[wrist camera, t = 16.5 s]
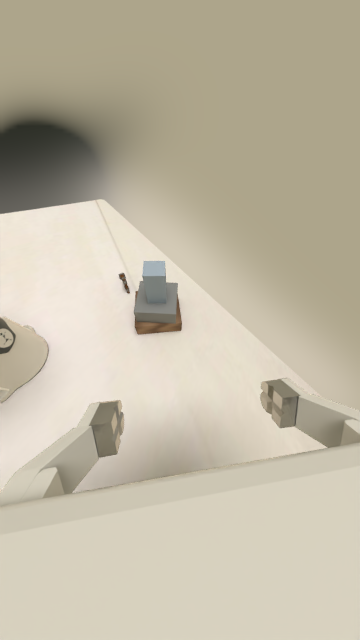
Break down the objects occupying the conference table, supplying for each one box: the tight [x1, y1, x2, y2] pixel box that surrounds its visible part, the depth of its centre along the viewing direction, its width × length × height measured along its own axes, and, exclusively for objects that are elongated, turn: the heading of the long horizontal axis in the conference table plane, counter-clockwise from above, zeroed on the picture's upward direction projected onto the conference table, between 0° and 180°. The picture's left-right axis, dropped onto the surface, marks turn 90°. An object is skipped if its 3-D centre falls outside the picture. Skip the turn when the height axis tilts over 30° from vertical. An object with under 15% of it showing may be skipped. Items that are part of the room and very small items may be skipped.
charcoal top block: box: [134, 281, 178, 324], centre depth 45 cm, size 10×10×4 cm
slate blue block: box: [142, 261, 166, 304], centre depth 39 cm, size 4×4×9 cm
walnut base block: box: [135, 291, 182, 334], centre depth 49 cm, size 12×12×4 cm
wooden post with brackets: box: [119, 273, 130, 293], centre depth 55 cm, size 2×8×4 cm, turn 25°
